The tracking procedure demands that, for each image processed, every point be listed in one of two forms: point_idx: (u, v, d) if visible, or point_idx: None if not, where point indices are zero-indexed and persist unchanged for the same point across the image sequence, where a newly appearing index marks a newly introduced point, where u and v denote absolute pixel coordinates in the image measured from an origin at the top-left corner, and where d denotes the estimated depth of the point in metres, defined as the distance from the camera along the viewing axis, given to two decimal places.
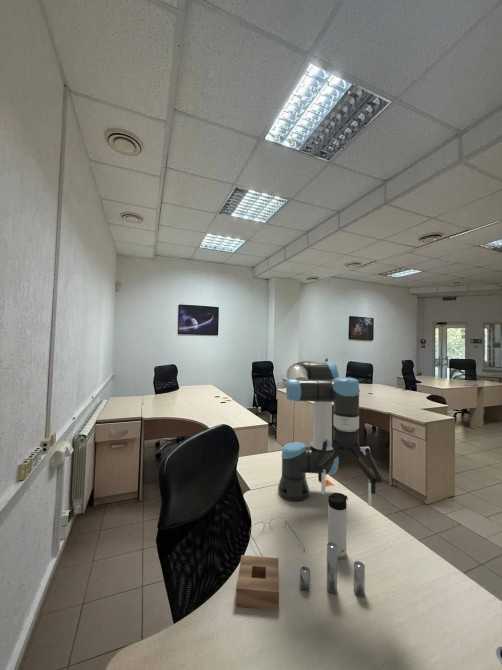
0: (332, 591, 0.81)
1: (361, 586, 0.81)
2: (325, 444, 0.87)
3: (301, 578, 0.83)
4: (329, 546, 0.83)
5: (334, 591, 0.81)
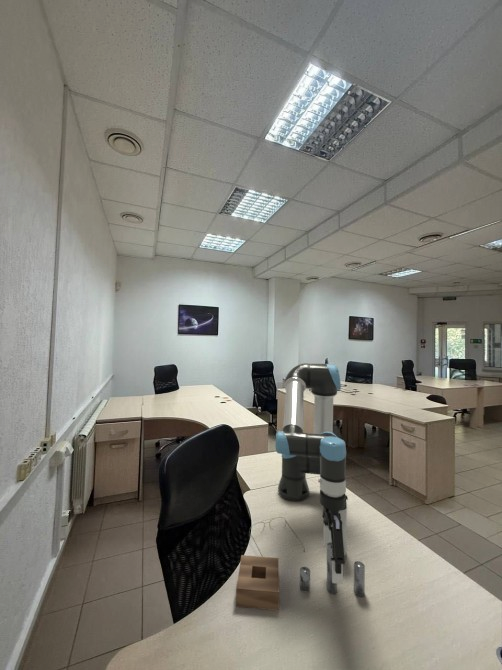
0: (332, 591, 0.81)
1: (361, 586, 0.81)
2: None
3: (301, 578, 0.83)
4: (329, 546, 0.83)
5: (334, 591, 0.81)
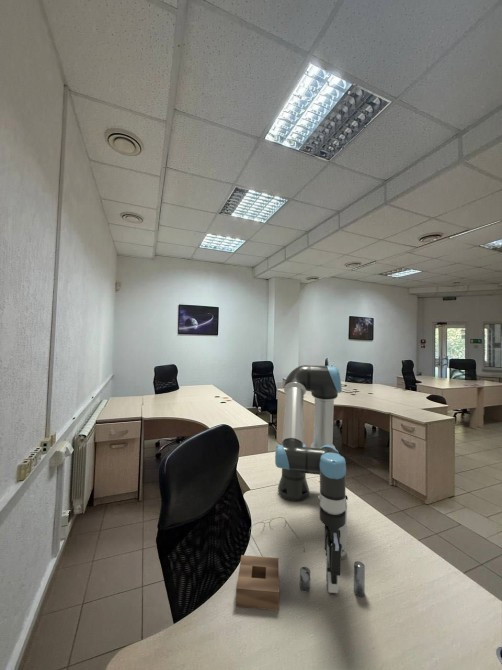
0: None
1: (361, 586, 0.81)
2: None
3: (301, 578, 0.83)
4: None
5: None
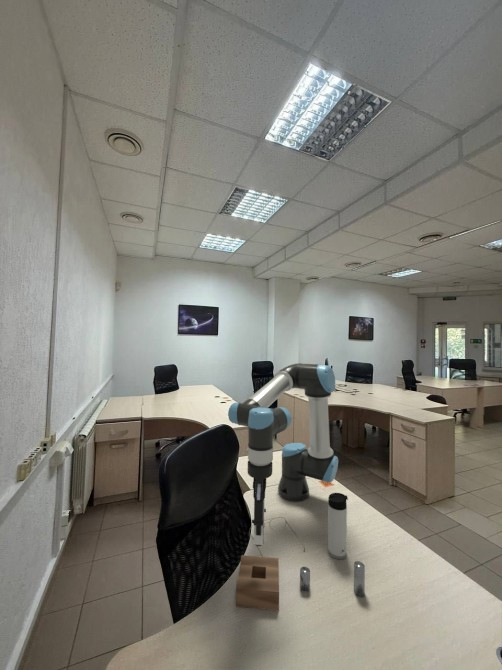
0: None
1: (361, 586, 0.81)
2: None
3: (301, 578, 0.83)
4: None
5: None
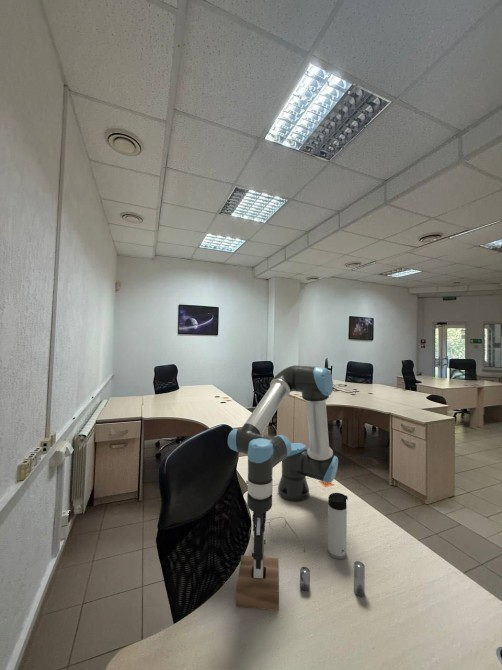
0: None
1: (361, 586, 0.81)
2: None
3: (301, 578, 0.83)
4: None
5: None
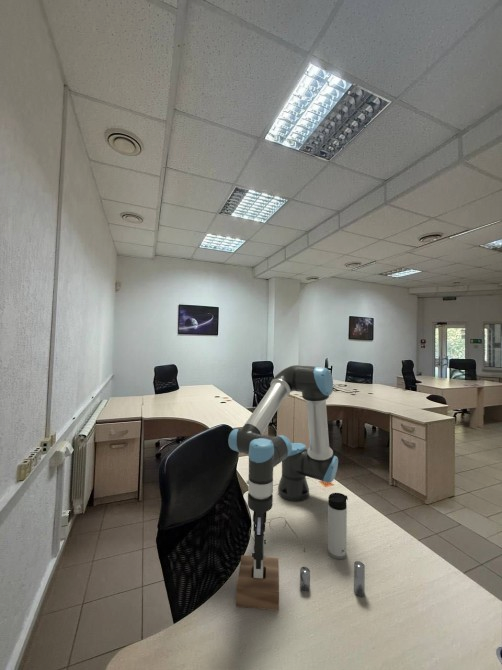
0: None
1: (361, 586, 0.81)
2: None
3: (301, 578, 0.83)
4: None
5: None
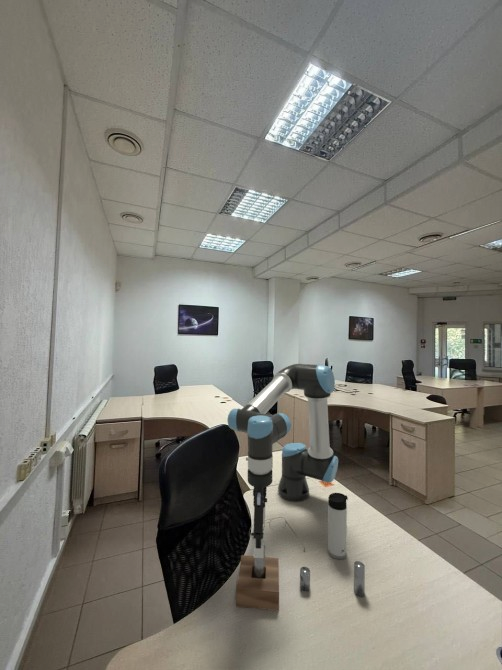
0: None
1: (361, 586, 0.81)
2: None
3: (301, 578, 0.83)
4: None
5: None
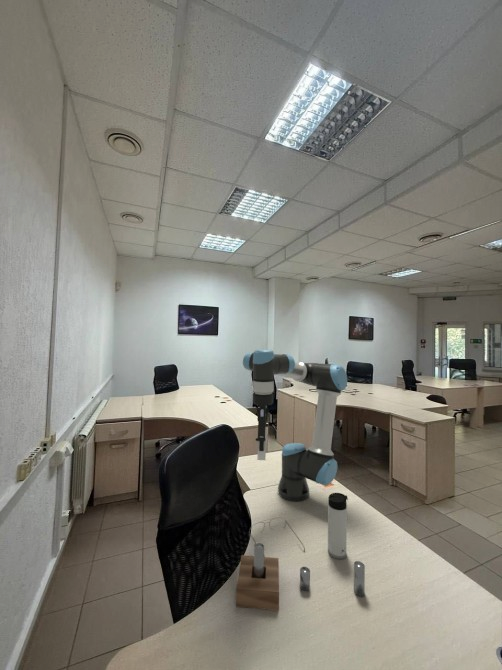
0: None
1: (361, 586, 0.81)
2: None
3: (301, 578, 0.83)
4: (256, 546, 0.82)
5: None
